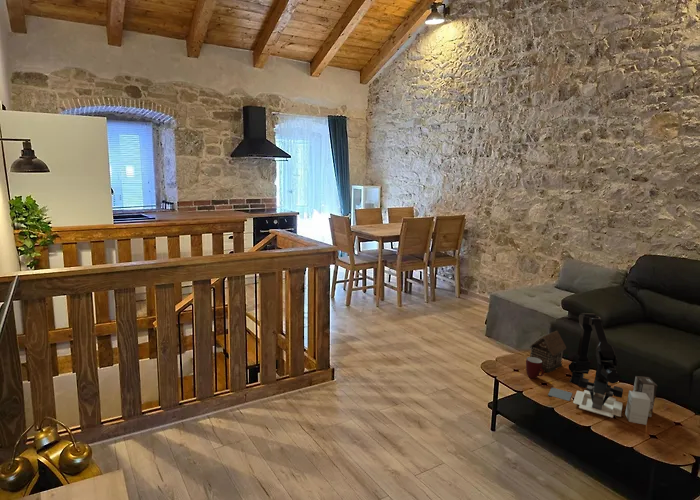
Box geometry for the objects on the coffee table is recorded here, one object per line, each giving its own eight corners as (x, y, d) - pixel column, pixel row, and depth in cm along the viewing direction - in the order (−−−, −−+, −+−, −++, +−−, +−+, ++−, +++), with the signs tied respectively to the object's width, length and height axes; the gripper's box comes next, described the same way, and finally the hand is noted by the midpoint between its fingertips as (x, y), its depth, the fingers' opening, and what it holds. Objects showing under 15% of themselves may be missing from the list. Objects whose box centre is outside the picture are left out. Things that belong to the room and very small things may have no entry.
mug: (547, 380, 252) (549, 362, 250) (538, 383, 248) (541, 366, 246) (529, 372, 261) (532, 355, 259) (521, 375, 256) (523, 358, 254)
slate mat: (551, 388, 243) (551, 387, 243) (572, 394, 238) (572, 392, 238) (547, 395, 235) (548, 394, 235) (569, 402, 230) (569, 400, 229)
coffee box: (652, 417, 219) (658, 385, 216) (637, 415, 220) (642, 383, 217) (644, 407, 228) (649, 376, 225) (629, 405, 229) (635, 375, 226)
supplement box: (642, 417, 218) (646, 393, 216) (646, 426, 211) (651, 400, 209) (624, 414, 220) (628, 389, 218) (628, 422, 213) (632, 397, 211)
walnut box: (593, 401, 230) (595, 390, 229) (602, 404, 228) (604, 392, 227) (591, 408, 223) (593, 396, 222) (601, 411, 221) (603, 399, 220)
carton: (577, 392, 240) (577, 388, 239) (622, 404, 229) (622, 400, 229) (571, 409, 222) (572, 405, 222) (619, 424, 212) (620, 419, 211)
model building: (550, 374, 259) (554, 340, 255) (525, 365, 270) (529, 332, 266) (564, 366, 271) (569, 333, 267) (541, 357, 282) (545, 326, 278)
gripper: (578, 374, 221) (574, 404, 224) (624, 385, 211) (618, 417, 214) (581, 366, 230) (577, 395, 233) (625, 376, 220) (620, 406, 223)
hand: (597, 403), depth 225 cm, fingers closed on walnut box, 4 cm apart
